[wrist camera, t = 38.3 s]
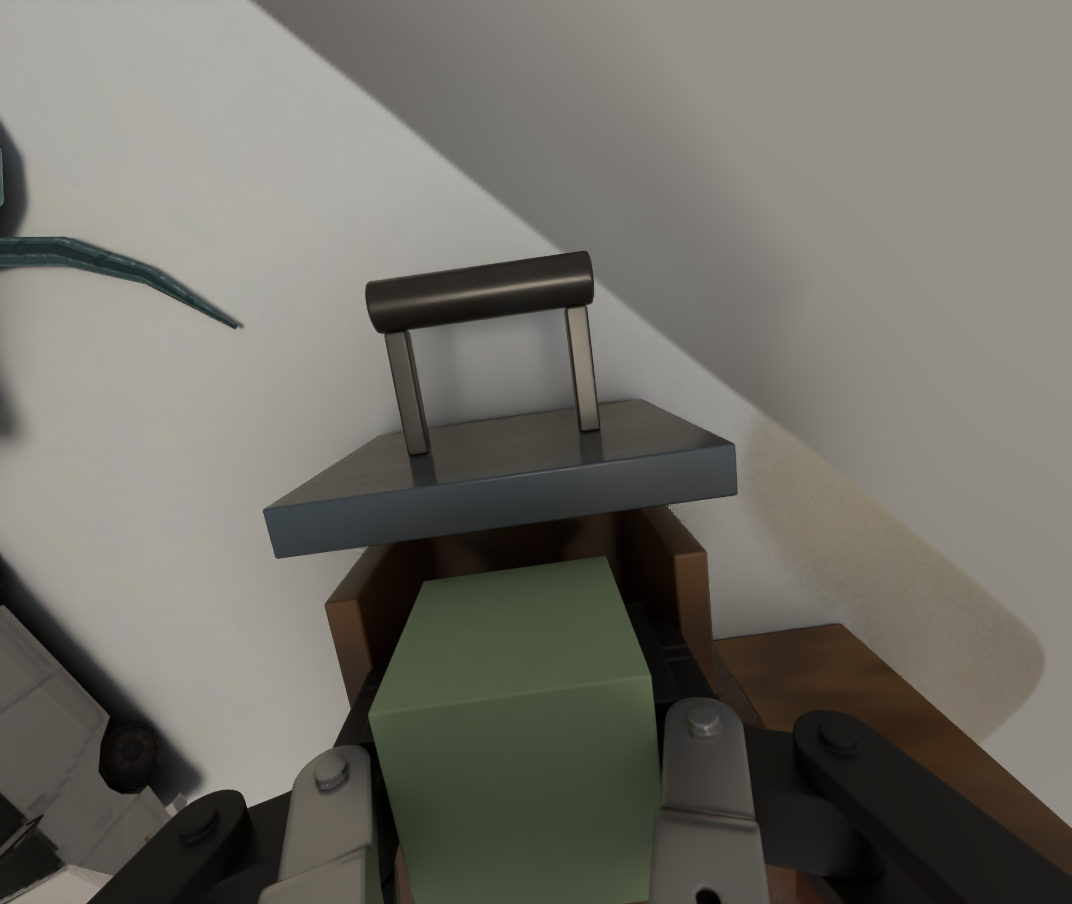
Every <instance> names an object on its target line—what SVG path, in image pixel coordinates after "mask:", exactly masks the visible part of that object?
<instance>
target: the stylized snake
mask: <svg viewBox="0 0 1072 904" xmlns="http://www.w3.org/2000/svg"><path fill="white" fill-rule="evenodd" d="M3 203H4V192H3V167H2V150H1V149H0V207H1V205H2V204H3ZM1 266H68V267H72V268H77V269H81V270H86V271H90V272H94V273H99V274H103V275H108V276H112V277H117V278H121V279H125V280H130V281H134V282H139V283H143V284H146V285H148V286H150V287H152V288H154V289H156V290H158V291H160V292H162V293H164V294H166V295H168V296H170V297H172V298H174V299H176V300H178V301H180V302H182V303H184V304H186V305H188V306H190V307H192V308H194V309H196V310H198V311H200V312H202V313H204V314H206V315H208V316H210V317H212V318H214V319H216V320H218V321H220V322H222V323H224V324H226V325H228V326H230V327H232V328H234V329H236V328H237V324H235V323H234V322H232V321H231V320H229V319H228V318H226V317H225V316H223V315H222V314H220V313H219V312H217V311H216V310H214V309H213V308H211V307H210V306H208V305H207V304H205V303H204V302H202V301H201V300H199V299H198V298H196V297H195V296H193V295H192V294H190V293H189V292H187V291H186V290H184V289H183V288H181V287H180V286H178V285H177V284H175V283H174V282H172V281H171V280H169V279H168V278H166V277H165V276H163V275H162V274H160V273H159V272H157V271H156V270H154V269H153V268H151V267H150V266H147V265H144V264H142V263H139V262H136V261H133V260H130V259H127V258H124V257H121V256H119V255H116V254H113V253H110V252H107V251H104V250H101V249H99V248H96V247H93V246H90V245H87V244H84V243H81V242H79V241H76V240H73V239H70V238H67V237H0V267H1Z"/></svg>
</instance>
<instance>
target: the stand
mask: <svg viewBox="0 0 1072 904" xmlns="http://www.w3.org/2000/svg"><path fill="white" fill-rule="evenodd" d="M713 645H714V647H715V648H716V650H717V652H718V653H719V655H720V656H721V658H722V660H723V661H724V663H725V664H726V666H727V668H728V669H729V671H730V672H731V674H732V676H733V677H734V679H735V681H736V682H737V684H738V685H739V687H740V689H741V690H742V692H743V693H744V695H745V697H746V698H747V700H748V701H749V703H750V705H751V706H752V708H753V709H754V711H755V713H756V714H757V716H758V717H759V719H760V721H761V722H762V724H763V725H764V727H765V729H769V730H778V731H786V732H793V725H794V722H795V721H796V720H797V718H798V717H800V716H801V715H803V714H804V713H807V712H810V711H815V710H830V711H836V712H841V713H844V714H847V715H850V716H852V717H855V718H857V719H859V720H860V721H862V722H864V723H865V724H867V725H868V726H870V727H871V728H873V729H874V730H875V731H877V732H878V733H879V734H881V735H882V736H883V737H885V738H886V739H887V740H889V741H890V742H891V743H893V744H894V745H895V746H897V747H898V748H899V749H901V750H902V751H903V752H905V753H906V754H907V755H909V756H910V757H911V758H913V759H914V760H915V761H917V762H918V763H919V764H921V765H922V766H923V767H925V768H926V769H928V770H929V771H930V772H932V773H933V774H934V775H936V776H937V777H938V778H940V779H941V780H942V781H944V782H945V783H946V784H948V785H949V786H950V787H952V788H953V789H954V790H956V791H957V792H958V793H960V794H961V795H962V796H964V797H965V798H966V799H968V800H969V801H970V802H972V803H973V804H974V805H976V806H977V807H978V808H980V809H981V810H982V811H984V812H985V813H986V814H988V815H989V816H991V817H992V818H993V819H995V820H996V821H997V822H999V823H1000V824H1001V825H1003V826H1004V827H1005V828H1007V829H1008V830H1009V831H1011V832H1012V833H1013V834H1015V835H1016V836H1017V837H1019V838H1020V839H1021V840H1023V841H1024V842H1025V843H1027V844H1028V845H1029V846H1031V847H1032V848H1033V849H1035V850H1036V851H1037V852H1039V853H1040V854H1041V855H1043V856H1044V857H1045V858H1047V859H1048V860H1049V861H1051V862H1052V863H1054V864H1055V865H1056V866H1058V867H1059V868H1060V869H1062V870H1063V871H1064V872H1066V873H1067V874H1068V875H1070V876H1071V877H1072V828H1071V827H1070V826H1069V825H1067V824H1066V823H1065V822H1064V821H1063V820H1062V819H1061V818H1060V817H1058V816H1057V815H1056V814H1055V813H1054V812H1053V811H1052V810H1051V809H1049V808H1048V807H1047V806H1046V805H1045V804H1044V803H1043V802H1042V801H1040V800H1039V799H1038V798H1037V797H1036V796H1035V795H1034V794H1032V793H1031V792H1030V791H1029V790H1028V789H1027V788H1026V787H1025V786H1024V785H1022V784H1021V783H1020V782H1019V781H1018V780H1017V779H1016V778H1015V777H1013V776H1012V775H1011V774H1010V773H1009V772H1008V771H1006V769H1004V768H1003V767H1002V766H1001V765H1000V764H999V763H998V762H996V761H995V760H994V759H993V758H992V757H991V756H990V755H989V754H987V753H986V752H985V751H984V750H983V749H982V748H981V747H980V746H978V745H977V744H976V743H975V742H974V741H973V740H972V739H971V738H969V737H968V736H967V735H966V734H965V733H964V732H963V731H962V730H960V729H959V728H958V727H957V726H956V725H955V724H954V723H953V722H951V721H950V720H949V719H948V718H947V717H946V716H945V715H944V714H942V713H941V712H940V711H939V710H938V709H937V708H936V707H934V706H933V705H932V704H931V703H930V702H929V701H928V700H927V699H925V698H924V697H923V696H922V695H921V694H920V693H919V692H918V691H916V690H915V689H914V688H913V687H912V686H911V685H910V684H909V683H907V682H906V681H905V680H904V679H903V678H902V677H901V676H900V675H898V674H897V673H896V672H895V671H894V670H893V669H892V668H891V667H889V666H888V665H887V664H886V663H885V662H884V661H883V660H882V659H880V658H879V657H878V656H877V655H876V654H875V653H874V652H873V651H871V650H870V649H869V648H868V647H867V646H866V645H865V644H863V643H862V642H861V641H860V640H859V639H858V638H857V637H856V636H854V635H853V634H852V633H851V632H850V631H849V630H848V629H847V628H845V627H844V626H843V625H842V624H836V625H829V626H821V627H814V628H807V629H799V630H792V631H785V632H777V633H770V634H763V635H755V636H748V637H741V638H733V639H726V640H719V641H713ZM797 899H798V904H826V903H825V901H824V900H823V899H822V898H821V896H820V895H819V894H818V893H817V892H816V890H815V889H814V888H813V887H812V885H811V884H810V883H809V882H808V880H807V879H806V878H805V876H804V875H803V873H802V871H797Z"/></svg>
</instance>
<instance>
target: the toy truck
mask: <svg viewBox="0 0 1072 904" xmlns="http://www.w3.org/2000/svg"><path fill="white" fill-rule="evenodd" d="M3 581H4V577H3V575H2V572H1V570H0V588H1V586H2V583H3ZM109 718H110V716H109V715H108V713H107V712H106V711H105V710H104V709H103V708H102V707H101V706H100V705H99V704H98V703H97V702H96V701H95V700H94V699H93V698H92V697H91V696H90V695H89V694H88V693H87V692H86V690H85V689H84V688H83V687H82V686H81V685H80V684H79V683H78V682H77V681H76V680H75V679H74V678H73V677H72V676H71V675H70V674H69V673H68V672H67V671H66V670H65V669H64V667H63V666H62V665H61V664H60V663H59V662H58V661H57V660H56V659H55V658H54V657H53V656H52V655H51V654H50V653H49V652H48V651H47V650H46V649H45V648H44V647H43V645H42V644H41V643H40V642H39V641H38V640H37V639H36V638H35V637H34V636H33V635H32V634H31V633H30V632H29V631H28V630H27V629H26V628H25V627H24V626H23V625H22V624H21V622H20V621H19V620H18V619H17V618H16V617H15V616H14V615H13V614H12V613H11V612H10V611H9V610H8V609H7V608H6V607H5V606H4V605H2V606H0V904H86V903H87V902H88V901H89V900H90V899H91V898H92V897H93V896H94V895H95V894H96V893H97V892H98V891H99V890H100V889H101V888H102V887H103V886H104V885H105V884H106V883H107V882H108V881H109V880H110V879H111V878H112V877H113V876H114V875H115V874H116V873H117V872H118V871H119V870H120V869H121V868H122V867H123V866H124V865H125V864H126V863H127V862H128V861H129V860H130V859H131V858H132V857H133V856H134V855H135V854H136V853H137V852H138V851H139V850H140V849H141V848H142V847H143V846H144V845H145V844H146V843H147V842H148V841H149V840H150V839H151V838H152V837H153V836H154V835H155V834H156V833H157V832H158V831H159V830H160V829H161V828H162V827H163V826H164V825H165V824H166V823H167V822H168V821H169V820H170V819H171V818H172V817H173V816H175V815H176V814H177V813H178V812H179V811H181V810H182V809H183V808H184V807H186V804H187V802H186V801H185V799H184V797H183V796H182V794H181V792H180V793H179V794H178V796H177V797H176V798H175V800H174V801H173V802H172V803H171V804H170V805H169V806H167V807H166V808H165V806H164V805H163V804H162V802H161V801H160V800H159V799H158V797H157V796H156V795H155V794H154V792H153V791H152V790H151V788H150V787H149V786H148V785H147V786H145V787H142V788H140V789H137V790H135V791H132V792H129V793H127V794H120V793H122V792H125V791H128V790H130V789H132V788H134V787H135V786H137V785H139V784H140V783H142V782H144V781H145V779H146V778H147V777H148V776H149V775H150V774H151V772H152V771H153V770H154V769H155V768H156V766H157V763H158V757H159V750H160V745H159V743H158V741H157V739H156V737H155V735H154V733H153V731H152V730H150V729H148V728H146V727H144V726H142V725H140V724H138V723H133V724H128V725H123V726H118V727H116V728H115V729H113V730H111V731H110V732H108V733H106V734H105V735H104V732H105V729H106V727H107V724H108V721H109Z"/></svg>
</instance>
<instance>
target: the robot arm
mask: <svg viewBox="0 0 1072 904" xmlns="http://www.w3.org/2000/svg"><path fill="white" fill-rule="evenodd" d="M624 606H625V609H626V611H627V614H628V616H629V619H630V622H631V624H632V627H633V630H634V632H635V635H636V637H637V640H638V643H639V645H640V648H641V651H642V653H643V656H644V659H645V661H646V664H647V666H648V669H649V672H650V674H651V679H652V689H653V699H654V709H655V718H656V728H657V738H658V748H659V758H660V767H661V777H662V783H661V799H660V805H656V807H655V813H654V825H653V839H652V854H651V868H650V882H649V896H648V904H770V900H769V892H768V885H767V878H766V871H765V864H767V865H772V866H777V867H782V868H787V869H792V870H797V871H802V873H803V875H804V876H805V878H806V879H807V880H808V882H809V883H810V884H811V885H812V887H813V888H814V889H815V890H816V892H817V893H818V894H819V895H820V896H821V898H822V899H823V900H824V901H825V903H826V904H1072V877H1071V876H1070V875H1068V874H1067V873H1066V872H1064V871H1063V870H1062V869H1060V868H1059V867H1058V866H1056V865H1055V864H1054V863H1052V862H1051V861H1049V860H1048V859H1047V858H1045V857H1044V856H1043V855H1041V854H1040V853H1039V852H1037V851H1036V850H1035V849H1033V848H1032V847H1031V846H1029V845H1028V844H1027V843H1025V842H1024V841H1023V840H1021V839H1020V838H1019V837H1017V836H1016V835H1015V834H1013V833H1012V832H1011V831H1009V830H1008V829H1007V828H1005V827H1004V826H1003V825H1001V824H1000V823H999V822H997V821H996V820H995V819H993V818H992V817H991V816H989V815H988V814H986V813H985V812H984V811H982V810H981V809H980V808H978V807H977V806H976V805H974V804H973V803H972V802H970V801H969V800H968V799H966V798H965V797H964V796H962V795H961V794H960V793H958V792H957V791H956V790H954V789H953V788H952V787H950V786H949V785H948V784H946V783H945V782H944V781H942V780H941V779H940V778H938V777H937V776H936V775H934V774H933V773H932V772H930V771H929V770H928V769H926V768H925V767H923V766H922V765H921V764H919V763H918V762H917V761H915V760H914V759H913V758H911V757H910V756H909V755H907V754H906V753H905V752H903V751H902V750H901V749H899V748H898V747H897V746H895V745H894V744H893V743H891V742H890V741H889V740H887V739H886V738H885V737H883V736H882V735H881V734H879V733H878V732H877V731H875V730H874V729H873V728H871V727H870V726H868V725H867V724H865V723H864V722H862V721H860V720H859V719H857V718H855V717H852V716H850V715H847V714H844V713H841V712H836V711H830V710H815V711H810V712H807V713H804V714H803V715H801V716H800V717H798V718H797V720H796V721H795V722H794V725H793V732H786V731H778V730H769V729H763V728H758V727H754V726H751V725H748V724H746V723H743V722H742V721H741V719H740V717H739V716H738V714H737V713H736V712H735V711H734V710H733V709H732V708H730V707H729V706H728V705H726V704H724V703H722V702H720V701H718V699H717V698H716V696H715V694H714V692H713V690H712V688H711V687H710V685H709V683H708V681H707V679H706V677H705V675H704V674H703V672H702V670H701V668H700V666H699V664H698V663H697V661H696V659H694V655H693V653H692V652H691V650H690V648H689V647H688V644H687V642H686V640H685V639H684V637H683V635H682V633H681V631H680V630H679V629H677V628H676V627H675V626H673V625H672V624H670V623H669V622H668V621H666V620H660V621H653V622H649V620H648V617H647V615H646V613H645V611H644V609H643V606H642V604H641V603H633V604H626V605H624ZM391 659H392V657H390V658H383V659H382V660H381V661H380V662H379V663H378V664H377V665H376V666H375V667H374V668H373V669H372V670H371V671H370V672H369V673H368V674H367V676H366V678H365V680H364V683H363V685H362V687H361V692H359V693H358V695H357V697H356V700H355V702H354V703H355V704H354V705H353V706H352V708H351V710H350V712H349V714H348V716H347V719H346V721H345V723H344V725H343V727H342V729H341V731H340V733H339V736H338V738H337V740H336V742H335V744H334V746H333V748H332V749H330V750H327V751H325V752H324V753H322V754H320V755H318V756H317V757H315V758H314V759H313V760H312V761H310V762H309V763H308V764H307V765H306V766H305V767H304V768H303V769H302V770H301V772H300V773H299V774H298V776H297V778H296V779H295V782H294V784H293V788H292V790H291V791H289V792H287V793H285V794H282V795H280V796H277V797H275V798H272V799H270V800H267V801H265V802H262V803H260V804H257V805H255V806H252V807H250V808H247V806H246V803H245V800H244V797H243V795H242V794H241V793H240V792H238V791H235V790H220V791H216V792H213V793H210V794H207V795H205V796H203V797H201V798H199V799H197V800H195V801H194V802H192V803H190V804H189V805H187V806H186V807H184V808H183V809H182V810H181V811H179V812H178V813H177V814H176V815H175V816H173V817H172V818H171V819H170V820H169V821H168V822H167V823H166V824H165V825H164V826H163V827H162V828H161V829H160V830H159V831H158V832H157V833H156V834H155V835H154V836H153V837H152V838H151V839H150V840H149V841H148V842H147V843H146V844H145V845H144V846H143V847H142V848H141V849H140V850H139V851H138V852H137V853H136V854H135V855H134V856H133V857H132V858H131V859H130V860H129V861H128V862H127V863H126V864H125V865H124V866H123V867H122V868H121V869H120V870H119V871H118V872H117V873H116V874H115V875H114V876H113V877H112V878H111V879H110V880H109V881H108V882H107V883H106V884H105V885H104V886H103V887H102V888H101V889H100V890H99V891H98V892H97V893H96V894H95V895H94V896H93V897H92V898H91V899H90V900H89V901H88V902H87V903H86V904H401V898H400V885H399V873H398V867H397V863H396V855H397V851H398V847H399V843H400V842H399V838H398V834H397V830H396V826H395V822H394V818H393V814H392V810H391V806H390V802H389V798H388V794H387V790H386V786H385V782H384V778H383V774H382V770H381V766H380V762H379V758H378V754H377V750H376V746H375V741H374V737H373V733H372V729H371V725H370V721H369V717H368V713H369V711H370V708H371V706H372V704H373V701H374V699H375V696H376V694H377V692H378V689H379V687H380V685H381V682H382V680H383V677H384V675H385V673H386V670H387V668H388V666H389V663H390V661H391Z"/></svg>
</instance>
